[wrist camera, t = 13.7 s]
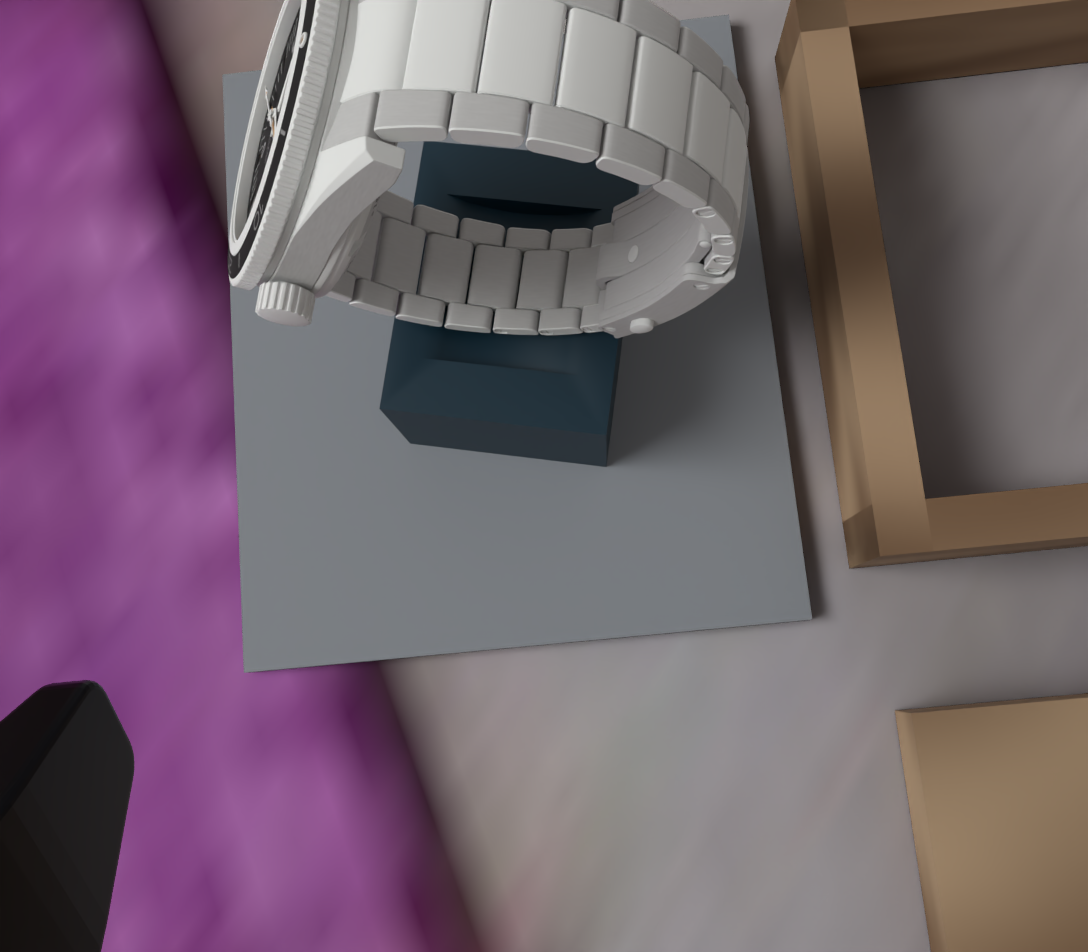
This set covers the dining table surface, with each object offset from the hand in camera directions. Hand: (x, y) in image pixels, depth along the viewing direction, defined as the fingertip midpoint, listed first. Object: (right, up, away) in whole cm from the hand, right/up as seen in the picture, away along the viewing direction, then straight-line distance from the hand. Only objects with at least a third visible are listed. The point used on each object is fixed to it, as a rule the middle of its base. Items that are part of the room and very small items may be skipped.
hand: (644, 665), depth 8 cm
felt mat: (-2, +5, +15) cm, 16 cm away
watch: (-1, +5, +15) cm, 15 cm away
